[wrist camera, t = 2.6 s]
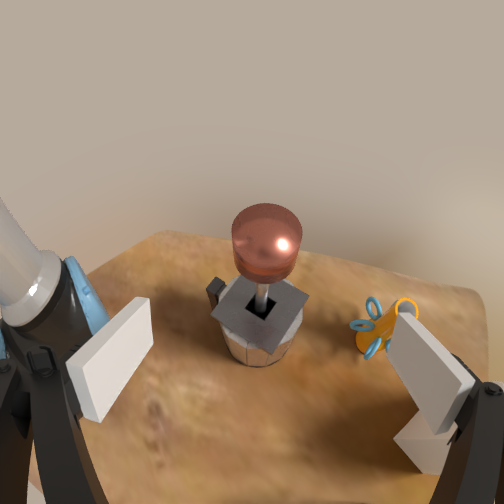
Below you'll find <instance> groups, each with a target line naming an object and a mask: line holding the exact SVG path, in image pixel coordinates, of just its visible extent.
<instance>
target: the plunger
mask: <svg viewBox="0 0 504 504" xmlns="http://www.w3.org/2000/svg"><path fill="white" fill-rule="evenodd" d="M301 239H302V227H301V224H300V222H299V220H298V218H297V217H296V216H295V215H294V214H293V213H292V212H291V211H289V210H288V209H286V208H284V207H282V206H279V205H276V204H269V203H263V204H256V205H253V206H250V207H248V208H246V209H244V210H243V211H241V212H240V213H239V214H238V215H237V217H236V218H235V220H234V222H233V224H232V242H233V253H234V262H235V265H236V268H237V269H238V271H239V272H240V273H241V275H243V276H244V277H245V278H246V279H248V280H250V281H252V282H255V283H256V298H255V315H256V316H257V317H259V318H261V319H262V320H264V319H265V311H266V304H267V297H268V289H269V284H273V283H277V282H279V281H281V280H283V279H285V278H286V277H287V276H288V275H289V274H290V273H291V272H292V270H293V268H294V266H295V262H296V259H297V255H298V251H299V247H300V243H301Z"/></svg>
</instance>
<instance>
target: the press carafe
mask: <svg viewBox="0 0 504 504" xmlns="http://www.w3.org/2000/svg"><path fill="white" fill-rule="evenodd" d="M206 291H207V294H208V297H209V300H210V303H211V306H212V309H213V311H212V312H211V314H210V316H211V317H212V318H213V319H215V320H216V321H218V322H219V323H220V326H221V329H222V333H223V336H224V339H225V342H226V344H227V347H228V349H229V351H230V353H231V354H232V356H233V357H234V358H235V359H236V360H237V361H239V362H240V363H242V364H244V365H246V366H249V367H255V368H261V367H266V366H270V365H272V364H274V363H276V362H277V361H278V360H280V359H281V358H282V357H283V355H284V354H285V353H286V351H287V349H288V347H289V345H290V343H291V342H292V340H293V338H294V336H295V334H296V332H297V330H298V328H299V326H300V324H301V323H302V308H303V306H304V304H305V303H306V301H307V300H308V298H309V295H308V294H306V293H304V292H302V291H301V290H299V289H297V288H295V287H294V285H293V284H292V283H291V282H290V281H289V280H287V279H283V280H281V281H279V282H277V283H273V284H269V289H268V297H267V304H266V311H265V319H264V320H262V319H261V318H259V317H257V316H256V315H255V298H256V283H255V282H252V281H250V280H248V279H246V278H245V277H244V276H243V275H240V276H238V277H235V278H233V279H232V280H231V281H230V283H229V284H228V285H225V282H224V281H222V280H221V279H219V278H218V277H215V278H214V279H213V280H212V282H211V283H210V284H209V285H208V287H207V288H206Z"/></svg>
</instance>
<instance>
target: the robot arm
mask: <svg viewBox="0 0 504 504" xmlns="http://www.w3.org/2000/svg"><path fill="white" fill-rule="evenodd" d="M0 306H1V314H2V318H1V319H0V504H27V487H28V486H27V485H28V475H29V465H30V457H31V450H32V443H33V438H34V446H35V453H36V459H37V465H38V470H39V475H40V480H41V485H42V489H43V493H44V497H45V501H46V504H109V503H108V501H107V499H106V496H105V494H104V492H103V489H102V487H101V485H100V482H99V480H98V477H97V475H96V472H95V469H94V467H93V464H92V461H91V458H90V456H89V453H88V450H87V447H86V443H85V440H84V437H83V434H82V430H81V427H80V423H79V419H80V418H81V417H82V416H83V415H84V418H87V419H89V420H92V421H95V422H98V423H101V422H102V420H103V418H104V417H105V415H106V414H107V412H108V411H109V409H110V408H111V406H112V405H113V403H114V402H115V400H116V399H117V397H118V395H119V394H120V392H121V391H122V389H123V388H124V386H125V385H126V383H127V382H128V380H129V379H130V377H131V376H132V374H133V373H134V371H135V370H136V368H137V367H138V366H139V364H140V363H141V361H142V360H143V358H144V357H145V355H146V354H147V352H148V351H149V349H150V348H151V346H152V345H153V336H152V326H151V314H150V301H149V298H143V297H135V298H134V299H133V300H132V301H131V302H130V303H129V304H128V305H126V306H125V307H124V308H123V309H122V310H121V311H120V312H119V313H118V314H117V315H115V316H114V317H113V318H112V319H111V320H110V317H109V315H108V313H107V311H106V309H105V307H104V306H103V304H102V302H101V300H100V299H99V297H98V295H97V294H96V292H95V290H94V288H93V287H92V285H91V283H90V282H89V280H88V278H87V276H86V275H85V273H84V271H83V270H82V268H81V266H80V265H79V263H78V262H77V260H76V259H75V258H74V257H73V256H70V257H68V258H65V259H64V261H62V260H61V259H60V258H59V257H58V255H57V254H56V253H55V252H53V251H50V250H42V251H39V250H38V249H37V248H36V246H35V245H34V244H33V243H32V242H31V240H30V239H29V238H28V236H27V235H26V234H25V232H24V231H23V230H22V228H21V227H20V226H19V224H18V223H17V221H16V220H15V219H14V217H13V216H12V214H11V213H10V211H9V210H8V209H7V207H6V206H5V204H4V203H3V201H2V200H1V198H0ZM386 357H387V358H388V360H389V361H390V363H391V364H392V366H393V368H394V369H395V371H396V372H397V374H398V375H399V377H400V379H401V380H402V382H403V383H404V385H405V387H406V388H407V390H408V392H409V393H410V395H411V397H412V398H413V400H414V401H415V403H416V405H417V406H418V408H419V410H420V412H421V413H422V415H423V417H424V418H425V420H426V422H427V423H428V425H429V427H430V429H431V430H432V432H433V434H434V436H435V435H438V434H442V433H446V432H448V431H449V429H450V428H451V426H452V424H453V423H454V421H455V423H456V424H457V426H458V427H457V429H456V430H455V432H454V434H453V435H452V437H451V438H450V440H449V441H448V443H447V445H449V444H450V442H451V446H450V449H449V452H448V455H447V458H446V461H445V464H444V467H443V470H442V473H441V476H440V478H439V481H438V483H437V486H436V488H435V491H434V493H433V496H432V498H431V500H430V503H429V504H494V499H495V504H504V391H503V389H502V388H501V387H500V386H499V385H497V384H495V383H492V382H484V383H482V382H481V381H480V379H479V378H478V377H477V376H476V375H475V374H474V373H473V372H472V371H471V370H470V369H468V367H467V366H466V365H465V364H464V362H463V361H462V360H461V359H460V358H459V357H457V356H455V355H454V354H452V353H450V352H449V351H448V350H447V349H446V348H445V347H444V346H443V345H442V344H441V343H440V342H439V341H438V340H437V339H436V338H435V337H434V336H433V335H432V334H431V333H430V332H429V331H428V330H427V329H426V328H425V327H424V326H423V325H422V324H421V323H420V322H419V321H418V320H417V319H416V318H415V317H414V316H413V315H412V314H411V313H398V315H397V319H396V323H395V327H394V330H393V334H392V338H391V342H390V345H389V349H388V352H387V355H386Z"/></svg>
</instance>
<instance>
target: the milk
mask: <svg viewBox="0 0 504 504" xmlns="http://www.w3.org/2000/svg"><path fill="white" fill-rule="evenodd" d="M491 382H492V383H495V384H497V385H499V386H500V387H501V388H502V389H503V391H504V383H503V382H500V381H491ZM457 427H458V426H457V424H456V423H455V421H454V423H453V424H452V426H451V428H450V429H449V431H448V432H446V433H442V434H438V435H435V436H434V434H433V432H432V430H431V429H430V427H429V425H428V423H427V422H426V420H425V418H424V417H423V415H422V413H421V412H420V410H419V411H418V412H417V413H416V414H415V415H414V417H413V418H412V419H411V420H410V421H409V422H408V423H407V424H406V425H405V427H404V428H403V429H402V430H401V431H400V432H399V433H398V434H397V435H396V436H395V437H394V438H393V440H394V441H395V442H396V443H397V444H398V445H399V447H400V448H401V449H402V450H403V451H404V452H405V454H406V455H407V456H408V457H409V458H410V459H411V461H412V462H413V463H414V464H415V465H416V466H417V467H418V469H419V470H420V471H421V472H422V473H423V474H433V475H441V473H442V470H443V467H444V464H445V461H446V458H447V455H448V452H449V449H450V446H451V442H450V444H449V445H447V443H448V441H449V440H450V438H451V437H452V435H453V434H454V432H455V430H456V429H457Z"/></svg>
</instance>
